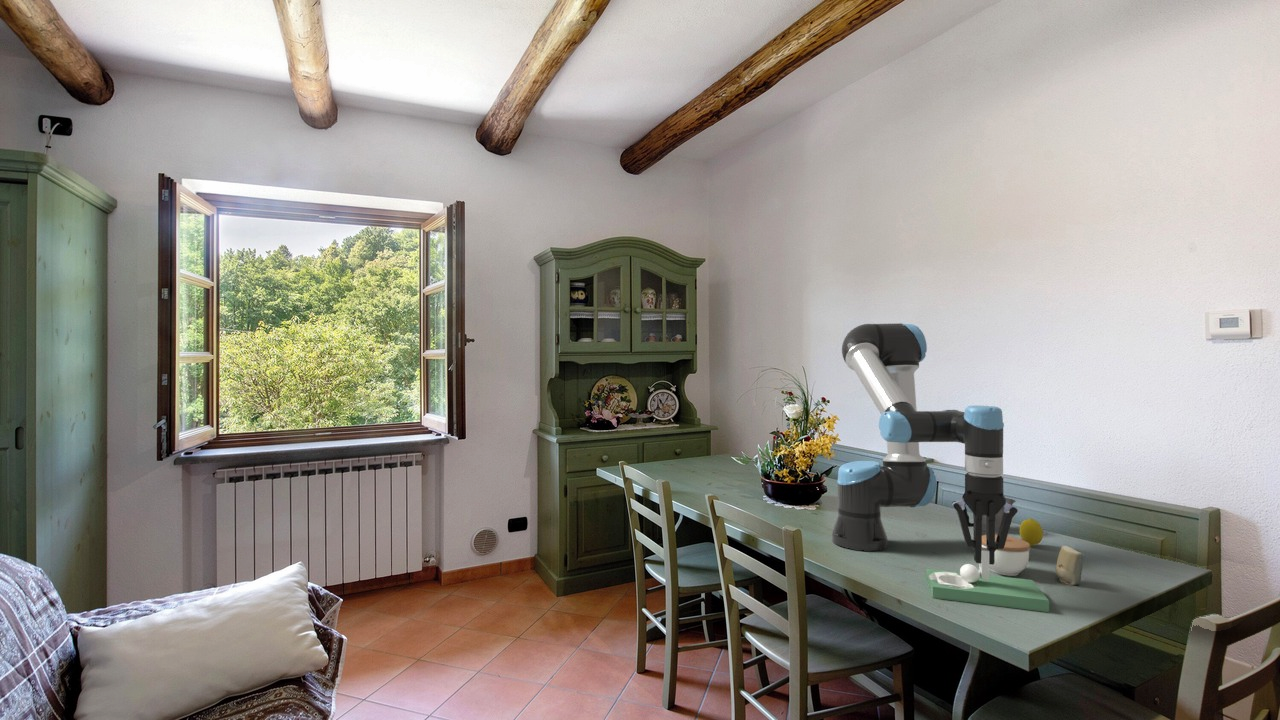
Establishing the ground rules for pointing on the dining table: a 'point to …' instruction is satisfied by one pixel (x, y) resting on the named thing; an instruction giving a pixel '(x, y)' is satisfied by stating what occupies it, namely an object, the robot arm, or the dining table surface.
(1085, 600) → the dining table surface
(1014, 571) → the lidded jar
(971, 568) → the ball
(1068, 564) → the beige rounded block
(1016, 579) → the green flat slab
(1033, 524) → the lemon
